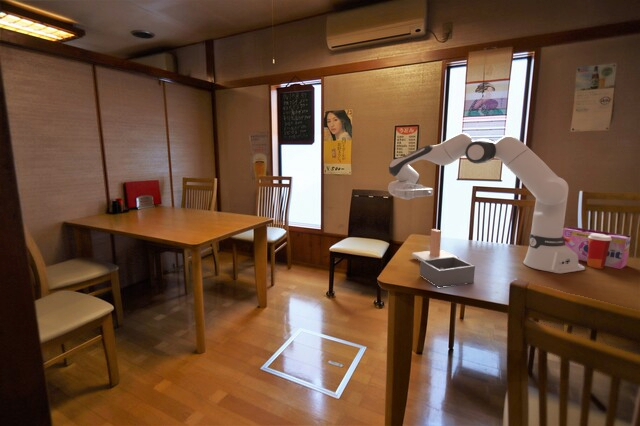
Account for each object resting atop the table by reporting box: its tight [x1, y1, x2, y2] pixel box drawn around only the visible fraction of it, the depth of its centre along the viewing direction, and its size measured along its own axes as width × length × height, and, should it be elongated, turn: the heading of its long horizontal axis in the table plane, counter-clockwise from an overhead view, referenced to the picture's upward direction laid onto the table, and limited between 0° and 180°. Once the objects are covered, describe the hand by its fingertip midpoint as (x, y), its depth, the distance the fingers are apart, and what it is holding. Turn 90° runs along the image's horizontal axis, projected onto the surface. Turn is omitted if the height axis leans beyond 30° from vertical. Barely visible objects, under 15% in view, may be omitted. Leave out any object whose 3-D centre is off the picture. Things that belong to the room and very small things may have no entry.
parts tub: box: [419, 256, 476, 287], centre depth 125 cm, size 16×12×7 cm
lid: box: [411, 228, 460, 262], centre depth 146 cm, size 16×12×15 cm
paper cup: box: [586, 233, 612, 269], centre depth 136 cm, size 8×8×14 cm
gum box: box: [562, 226, 632, 270], centre depth 144 cm, size 24×8×14 cm, turn 34°
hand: (422, 194), depth 153 cm, fingers open, 8 cm apart
